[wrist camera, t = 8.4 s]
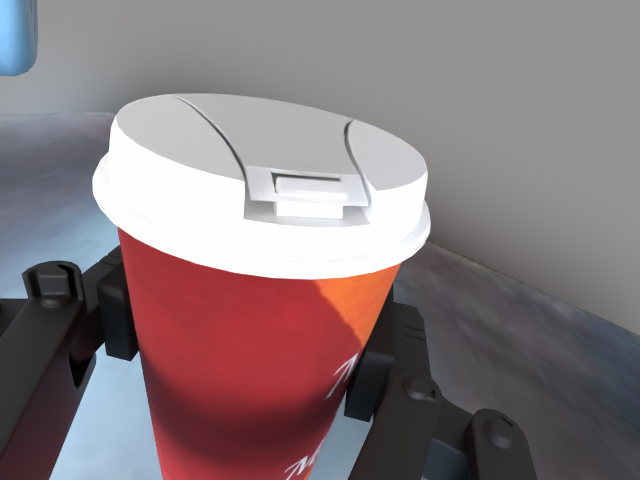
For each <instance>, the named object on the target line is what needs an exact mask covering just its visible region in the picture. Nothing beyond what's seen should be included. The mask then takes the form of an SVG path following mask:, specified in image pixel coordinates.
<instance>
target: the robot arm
mask: <svg viewBox="0 0 640 480" xmlns="http://www.w3.org/2000/svg"><path fill="white" fill-rule="evenodd" d="M37 21H38V18H37V0H0V76H17V75H20V74H23V73H25V72H27V71H29V69H30V68H32V66H33V65H34V63H35V61H36V57H37V43H38V42H37V41H38V22H37ZM22 277H23V280H24V284H25V287H26V291H27V295H28V298H29V299H0V480H49V478H50V476H51V473H52V471H53V468H54V466H55V463H56V461H57V458H58V456H59V454H60V451H61V449H62V446H63V444H64V441H65V439H66V436H67V434H68V431H69V429H70V426H71V424H72V421H73V419H74V417H75V414H76V412H77V409H78V407H79V404H80V402H81V399H82V397H83V394H84V392H85V389H86V387H87V384H88V382H89V379H90V377H91V375H92V372H93V370H94V367H95V365H96V353H95V352H96V351H97V350H98V348H99V347H100V346H101V345H102V344H103V343H104V342H105V348H106V354H107V355H108V356H112V357H115V358H119V359H123V360H127V361H131V360H132V359H133V358H134V356H135V355H136V354H137V353H138V351H139V347H138V341H137V335H136V330H135V324H134V318H133V313H132V307H131V301H130V296H129V290H128V284H127V279H126V273H125V267H124V262H123V256H122V250H121V245H119V246H117V247H116V248H115V249H114V250H112V251H111V252H110V253H108V256H105V257H103V258H102V259H101V260H100V261H99V263H98V262H97V263H96V264H95V265H93V266H92V267H91V268H89V269H88V270H87V271H86V272H84V273H83V274H81V270H80V268H79V267H78V265H76V264H74V263H72V262H67V261H49V262H45V263H40V264H37V265H35V266H33V267H31V268H29V269H27V270H26V271H25V272H24V273H23V274H22ZM424 331H425V328H424V321H423V318H422V316H421V314H420V313H419V311H418V310H417V308H416V307H413V306H409V305H405V304H400V303H396V302H393V283H392V285H391V288H390V290H389V292H388V295H387V297H386V299H385V302H384V304H383V306H382V309H381V311H380V313H379V316H378V318H377V320H376V323H375V325H374V327H373V330H372V332H371V334H370V336H369V338H368V340H367V342H366V345H365V347H364V350H363V352H362V355H361V357H360V360H359V362H358V364H357V367H356V369H355V371H354V374H353V376H352V378H351V381H350V383H349V385H348V388H347V392H346V401H345V411H344V416H346V417H350V418H354V419H358V420H362V421H366V422H370V419H371V417H372V414H373V424H372V426H371V428H370V431H369V433H368V435H367V437H366V440H365V442H364V444H363V446H362V449H361V451H360V453H359V455H358V458H357V460H356V462H355V464H354V466H353V469H352V471H351V473H350V475H349V478H348V480H421V477H422V476H423V477H425V478H427V479H428V480H537V477H536V473H535V469H534V465H533V461H532V458H531V454H530V450H529V446H528V442H527V440H526V438H525V436H524V433H523V432H522V430H521V429H520V428H519V427H518V425H517V424H516V423H515V422H514V421H513V420H511V419H510V418H509V417H507V416H506V415H505V414H502V413H500V412H498V411H496V410H492V409H482V410H478V411H477V412H476V413H475V414H474V415H472V414H470V413H469V412H467V411H465V410H463V409H461V408H459V407H457V406H455V405H454V404H452V403H451V402H449V401H448V400H447V399H445V398H444V397H443V396H442V393H441V391H440V389H439V386H438V385H437V384H436V383H435V381H434V380H433V379H432V378H431V372H430V365H429V357H428V350H427V343H426V336H425V332H424Z"/></svg>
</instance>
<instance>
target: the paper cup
mask: <svg viewBox="0 0 640 480" xmlns="http://www.w3.org/2000/svg"><path fill="white" fill-rule="evenodd" d="M427 177H428V171H427V168H426V163H425V160H424V158H423V157H422V156H421V155H420V153H419V152H418V151H417V150H415V149H414V148H413V147H412V146H411V145H409V144H408V143H406V142H404V141H403V140H401V139H400V138H398V137H396V136H394V135H392V134H390V133H388V132H386V131H383V130H381V129H379V128H377V127H375V126H372V125H369V124H367V123H364V122H361V121H358V120H355V119H354V121H353V118H349V117H345V116H342V115H339V114H335V113H331V112H327V111H324V110H320V109H316V108H312V107H308V106H303V105H298V104H294V103H288V102H283V101H276V100H270V99H262V98H255V97H247V96H237V95H226V94H172V95H170V94H167V95H159V96H152V97H147V98H143V99H139V100H136V101H134V102H131V103H129V104H127V105H125V106H124V107H123V108H121V109H120V110H119V111H118V114H117V115H116V116H115V119H114V121H113V123H112V126H111V133H110V147H109V152H108V153H107V154H106V155H105V156H104V157H103V158H102V159H101V160H100V163H99V165H98V167H97V168H96V171H95V173H94V176H93V178H92V183H93V195H94V197H95V199H96V201H97V203H98V205H99V207H100V209H101V210H102V211H103V212H104V213H105V214H106V215H107V216H108V218H109V219H110V220H111V221H112V222H113V223H114V224H116V225H117V228H118V233H119V239H120V245H121V250H122V256H123V262H124V267H125V273H126V279H127V284H128V290H129V296H130V301H131V307H132V313H133V318H134V324H135V330H136V335H137V341H138V347H139V352H140V358H141V364H142V369H143V375H144V381H145V386H146V392H147V397H148V403H149V408H150V414H151V419H152V425H153V431H154V436H155V441H156V446H157V452H158V457H159V462H160V467H161V472H162V477H163V480H307V479H308V477H309V474H310V472H311V470H312V468H313V466H314V463H315V461H316V459H317V457H318V454H319V452H320V450H321V448H322V445H323V443H324V441H325V438H326V436H327V434H328V432H329V429H330V427H331V425H332V422H333V420H334V418H335V415H336V413H337V411H338V409H339V406H340V404H341V402H342V399H343V397H344V395H345V392H346V390H347V388H348V385H349V383H350V381H351V378H352V376H353V374H354V371H355V369H356V367H357V364H358V362H359V360H360V357H361V355H362V352H363V350H364V347H365V345H366V342H367V340H368V338H369V336H370V334H371V332H372V330H373V327H374V325H375V323H376V320H377V318H378V316H379V313H380V311H381V309H382V306H383V304H384V302H385V299H386V297H387V295H388V292H389V290H390V288H391V285H392V283H393V281H394V279H395V276H396V274H397V272H398V269H399V267H400V265H401V262H402V261H404V260H405V259H407V258H409V257H411V256H413V255H414V254H415V253H416V252H417V251H418V250H419V249H420V248H421V247H422V246H423V245H424V243H425V241H426V239H427V237H428V235H429V233H430V225H431V220H430V214H429V210H428V207H427V204H426V202H425V200H424V195H425V190H426V184H427Z"/></svg>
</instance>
